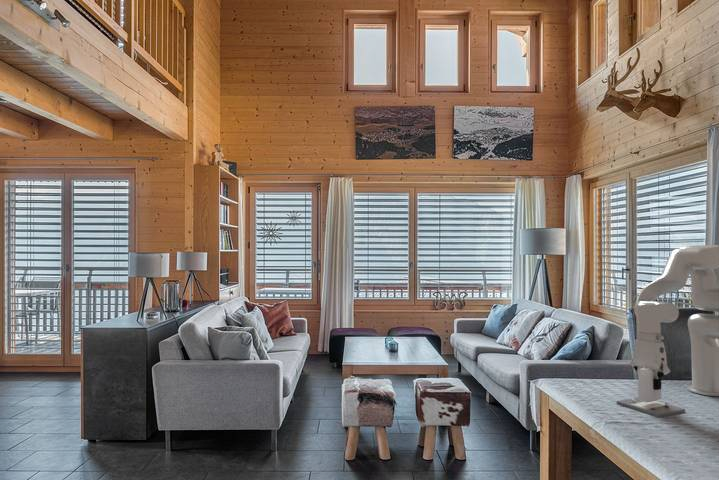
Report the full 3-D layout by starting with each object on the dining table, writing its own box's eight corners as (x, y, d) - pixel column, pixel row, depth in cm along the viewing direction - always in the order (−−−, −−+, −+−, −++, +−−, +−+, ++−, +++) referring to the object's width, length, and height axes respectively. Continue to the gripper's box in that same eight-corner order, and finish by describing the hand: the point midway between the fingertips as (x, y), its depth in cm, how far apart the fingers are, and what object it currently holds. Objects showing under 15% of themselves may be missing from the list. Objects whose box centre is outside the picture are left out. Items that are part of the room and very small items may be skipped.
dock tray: (642, 399, 181) (642, 392, 181) (685, 412, 166) (685, 404, 167) (616, 403, 176) (616, 397, 176) (658, 417, 161) (658, 409, 161)
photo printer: (650, 396, 176) (650, 362, 176) (663, 399, 172) (662, 364, 173) (636, 400, 170) (635, 366, 171) (649, 403, 167) (648, 368, 167)
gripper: (679, 340, 166) (680, 392, 165) (634, 333, 181) (635, 380, 181) (664, 341, 163) (666, 394, 162) (620, 334, 179) (621, 382, 178)
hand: (649, 386), depth 171 cm, fingers closed on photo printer, 4 cm apart
